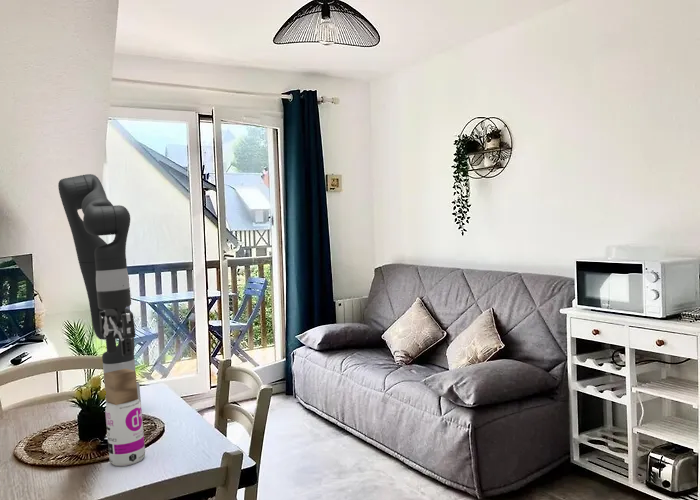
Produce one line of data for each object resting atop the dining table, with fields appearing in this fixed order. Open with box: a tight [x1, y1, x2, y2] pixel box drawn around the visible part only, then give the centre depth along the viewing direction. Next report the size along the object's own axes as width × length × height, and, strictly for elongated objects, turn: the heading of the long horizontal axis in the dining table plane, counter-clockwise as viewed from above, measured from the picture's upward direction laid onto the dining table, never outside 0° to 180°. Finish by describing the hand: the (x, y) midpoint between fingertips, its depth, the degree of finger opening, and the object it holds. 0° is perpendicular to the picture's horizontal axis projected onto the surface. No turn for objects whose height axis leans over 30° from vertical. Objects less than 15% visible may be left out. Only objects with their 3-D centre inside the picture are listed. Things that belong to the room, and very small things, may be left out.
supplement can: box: [104, 399, 146, 467], centre depth 147 cm, size 8×8×15 cm
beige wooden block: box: [103, 368, 138, 405], centre depth 146 cm, size 6×6×7 cm
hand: (119, 354), depth 146 cm, fingers open, 8 cm apart
